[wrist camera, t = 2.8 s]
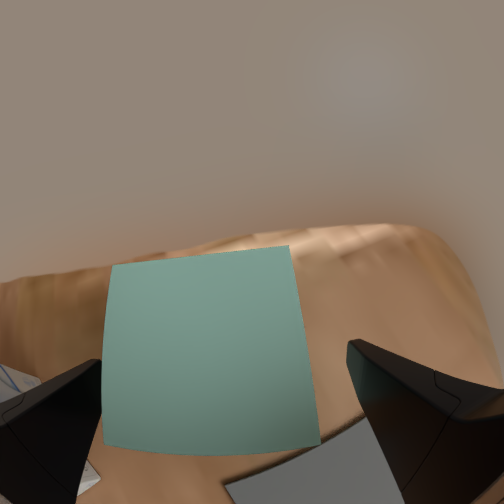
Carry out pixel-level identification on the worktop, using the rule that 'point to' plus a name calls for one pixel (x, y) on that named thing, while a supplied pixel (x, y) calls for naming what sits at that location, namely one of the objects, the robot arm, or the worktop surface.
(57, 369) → the worktop surface
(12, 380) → the light bulb box
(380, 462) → the mat
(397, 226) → the worktop surface
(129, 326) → the teal block
